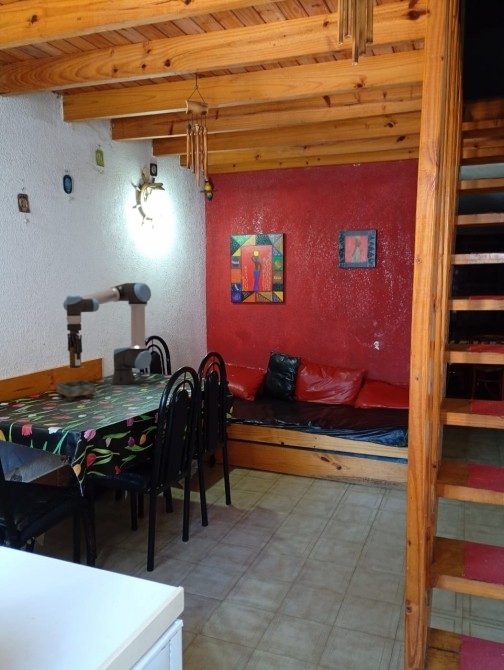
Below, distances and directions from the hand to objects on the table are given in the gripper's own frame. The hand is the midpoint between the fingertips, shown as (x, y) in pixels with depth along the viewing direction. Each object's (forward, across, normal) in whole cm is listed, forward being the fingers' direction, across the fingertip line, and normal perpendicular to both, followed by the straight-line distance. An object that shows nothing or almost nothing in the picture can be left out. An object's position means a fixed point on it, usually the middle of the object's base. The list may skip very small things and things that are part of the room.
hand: (75, 364), depth 296 cm
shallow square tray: (+19, 0, 0) cm, 19 cm away
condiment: (+2, +1, 0) cm, 2 cm away
